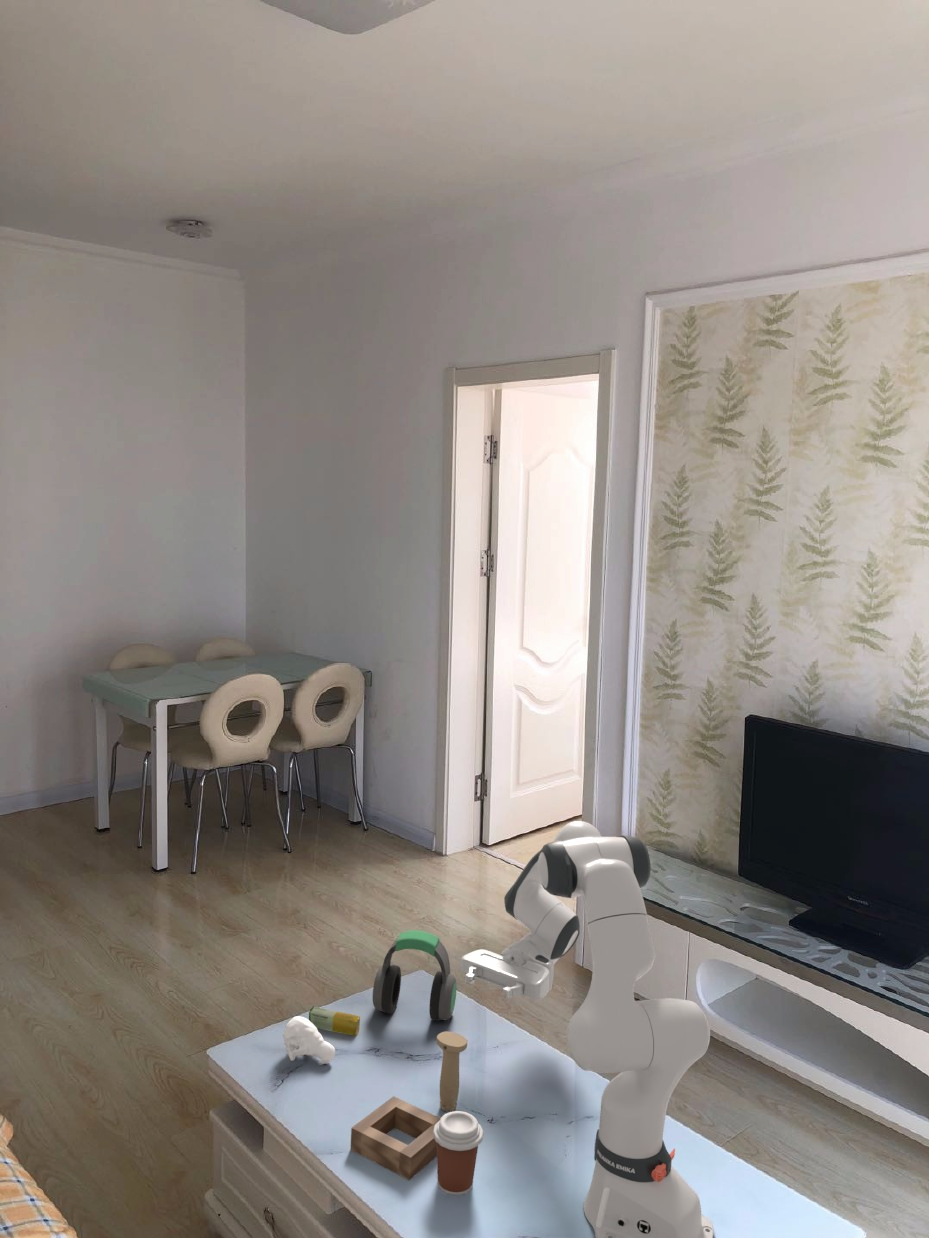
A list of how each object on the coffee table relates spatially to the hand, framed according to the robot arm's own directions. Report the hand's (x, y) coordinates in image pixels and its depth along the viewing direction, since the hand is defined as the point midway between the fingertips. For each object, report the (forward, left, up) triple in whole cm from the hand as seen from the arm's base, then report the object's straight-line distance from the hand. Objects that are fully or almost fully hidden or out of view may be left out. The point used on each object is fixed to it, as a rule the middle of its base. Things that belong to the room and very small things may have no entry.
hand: (485, 987), depth 215 cm
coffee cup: (-14, +30, -21) cm, 40 cm away
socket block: (0, +28, -21) cm, 35 cm away
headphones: (+28, -14, -22) cm, 38 cm away
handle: (0, +12, -21) cm, 25 cm away
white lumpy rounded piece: (+34, +16, -22) cm, 43 cm away
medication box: (+38, +4, -22) cm, 44 cm away
